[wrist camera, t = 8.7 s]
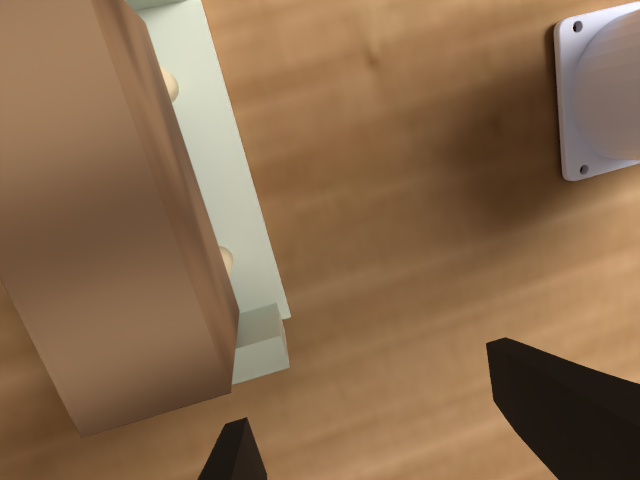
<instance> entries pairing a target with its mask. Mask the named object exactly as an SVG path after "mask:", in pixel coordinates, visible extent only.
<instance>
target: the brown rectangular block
mask: <svg viewBox="0 0 640 480" xmlns="http://www.w3.org/2000/svg"><path fill="white" fill-rule="evenodd" d="M0 279H1V281H2V283H3V285H4V287H5V289H6V291H7V293H8V295H9V297H10V298H11V300H12V302H13V304H14V306H15V308H16V310H17V312H18V314H19V316H20V318H21V320H22V322H23V324H24V326H25V328H26V330H27V332H28V334H29V336H30V338H31V340H32V342H33V344H34V346H35V348H36V350H37V352H38V354H39V356H40V358H41V360H42V362H43V364H44V366H45V368H46V370H47V372H48V374H49V376H50V378H51V380H52V382H53V384H54V385H55V387H56V389H57V391H58V393H59V395H60V397H61V399H62V401H63V403H64V405H65V407H66V409H67V411H68V413H69V415H70V417H71V419H72V421H73V423H74V425H75V427H76V429H77V431H78V433H79V435H80V437H81V438H84V437H87V436H91V435H94V434H97V433H100V432H104V431H107V430H110V429H114V428H117V427H120V426H123V425H127V424H130V423H133V422H137V421H140V420H143V419H146V418H150V417H153V416H156V415H160V414H163V413H166V412H169V411H173V410H176V409H179V408H183V407H186V406H189V405H192V404H196V403H199V402H202V401H206V400H209V399H212V398H215V397H219V396H222V395H225V394H229V393H231V386H232V377H233V368H234V359H235V350H236V341H237V331H238V322H239V313H240V310H239V307H238V304H237V301H236V298H235V295H234V292H233V288H232V285H231V282H230V279H229V276H228V273H227V270H226V267H225V264H224V261H223V258H222V255H221V252H220V249H219V246H218V243H217V240H216V237H215V234H214V230H213V227H212V224H211V221H210V218H209V215H208V212H207V209H206V206H205V203H204V200H203V197H202V194H201V191H200V188H199V185H198V182H197V179H196V175H195V172H194V169H193V166H192V163H191V160H190V157H189V154H188V151H187V148H186V145H185V142H184V139H183V136H182V133H181V130H180V127H179V124H178V121H177V117H176V114H175V111H174V108H173V105H172V102H171V99H170V96H169V93H168V90H167V87H166V84H165V81H164V78H163V75H162V72H161V69H160V66H159V62H158V59H157V56H156V53H155V50H154V47H153V44H152V41H151V38H150V35H149V32H148V29H147V26H146V23H145V22H144V21H143V20H142V19H141V17H140V16H139V15H138V14H137V13H136V12H135V11H134V10H133V9H132V8H131V7H130V6H129V5H128V4H127V3H126V2H125V1H124V0H0Z"/></svg>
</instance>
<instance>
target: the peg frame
mask: <svg viewBox="0 0 640 480" xmlns="http://www.w3.org/2000/svg"><path fill="white" fill-rule="evenodd" d="M124 1H125V2H126V3H127V4H128V5H129V6H130V7H131V8H132V9H133V10H134V11H135V12H136V13H137V14H138V15H139V16H140V17H141V19H142V20H143V21H144V22H145V23H146V26H147V29H148V32H149V35H150V38H151V41H152V44H153V47H154V50H155V53H156V56H157V59H158V62H159V66H160V69H161V72H162V75H163V78H164V81H165V84H166V87H167V90H168V93H169V96H170V99H171V102H172V105H173V108H174V111H175V114H176V117H177V121H178V124H179V127H180V130H181V133H182V136H183V139H184V142H185V145H186V148H187V151H188V154H189V157H190V160H191V163H192V166H193V169H194V172H195V175H196V179H197V182H198V185H199V188H200V191H201V194H202V197H203V200H204V203H205V206H206V209H207V212H208V215H209V218H210V221H211V224H212V227H213V230H214V234H215V237H216V240H217V243H218V246H219V249H220V252H221V255H222V258H223V261H224V264H225V267H226V270H227V273H228V276H229V279H230V282H231V285H232V288H233V292H234V295H235V298H236V301H237V304H238V307H239V310H240V313H239V322H238V331H237V341H236V350H235V359H234V368H233V377H232V385H234V384H237V383H241V382H244V381H247V380H251V379H254V378H257V377H261V376H264V375H267V374H271V373H274V372H277V371H281V370H284V369H287V368H290V363H289V356H288V349H287V342H286V335H285V329H284V326H283V322H282V320H284V319H287V318H291V314H290V310H289V306H288V303H287V299H286V296H285V292H284V289H283V285H282V282H281V278H280V275H279V271H278V268H277V264H276V261H275V257H274V254H273V250H272V247H271V243H270V240H269V236H268V233H267V229H266V226H265V222H264V219H263V215H262V212H261V208H260V205H259V201H258V198H257V194H256V191H255V187H254V184H253V180H252V177H251V173H250V170H249V166H248V163H247V159H246V156H245V152H244V149H243V145H242V142H241V138H240V135H239V131H238V128H237V124H236V121H235V117H234V114H233V110H232V107H231V103H230V100H229V96H228V93H227V89H226V86H225V82H224V79H223V75H222V72H221V68H220V65H219V61H218V58H217V54H216V51H215V47H214V44H213V40H212V37H211V33H210V30H209V26H208V23H207V19H206V16H205V12H204V9H203V5H202V2H201V0H124Z"/></svg>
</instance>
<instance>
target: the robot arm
mask: <svg viewBox="0 0 640 480" xmlns="http://www.w3.org/2000/svg"><path fill="white" fill-rule="evenodd" d="M573 24H575V25H576V31H575V32H574V30H573ZM554 47H555V63H556V79H557V96H558V112H559V128H560V145H561V161H562V175H563V178H564V179H565V180H567V181H578V180H581V179H585V178H588V177H592V176H596V175H599V174H603V173H607V172H610V171H614V170H617V169H621V168H625V167H628V166H632V165H635V164H639V163H640V1H637V2H632V3H628V4H624V5H620V6H615V7H611V8H607V9H603V10H598V11H594V12H590V13H586V14H582V15H577V16H573V17H569V18H566V19H563V20H561V21H559V22H558V23H557V24H556V26H555V28H554ZM581 166H582V167H583V170H582V172H581V173H580V168H581ZM486 347H487V355H488V363H489V370H490V378H491V385H492V393H493V400H494V402H495V403H496V405H497V406H498V408H499V409H500V411H501V412H502V414H503V415H504V417H505V418H506V419H507V421H508V422H509V423H510V425H511V426H512V428H513V429H514V430H515V432H516V433H517V434H518V435H519V436H520V437H521V439H522V440H523V441H524V442H525V443H526V444H527V445H528V446H529V447H530V449H531V450H532V451H533V452H534V453H535V454H536V455H537V456H538V458H539V459H540V460H541V461H542V462H543V463H544V464H545V465H546V466H547V467H548V469H549V470H550V471H551V472H552V473H553V474H554V475H555V476H556V477H557V478H558V480H640V384H638V383H634V382H631V381H628V380H624V379H621V378H618V377H615V376H612V375H609V374H605V373H602V372H599V371H596V370H594V369H591V368H588V367H585V366H582V365H579V364H576V363H574V362H571V361H568V360H565V359H563V358H560V357H557V356H555V355H552V354H550V353H547V352H544V351H542V350H539V349H536V348H534V347H531V346H528V345H526V344H523V343H520V342H518V341H515V340H512V339H509V338H506V337H505V338H501V339H498V340H495V341H492V342H488V343H486ZM198 480H267V473H266V470H265V468H264V465H263V462H262V459H261V456H260V453H259V450H258V448H257V445H256V442H255V439H254V436H253V433H252V430H251V428H250V425H249V422H248V419H247V417H246V418H243V419H240V420H236V421H233V422H230V423H227V424H225V426H224V427H223V429H222V431H221V433H220V435H219V437H218V439H217V441H216V444H215V446H214V448H213V450H212V452H211V454H210V456H209V458H208V460H207V462H206V464H205V466H204V468H203V470H202V472H201V474H200V476H199V478H198Z"/></svg>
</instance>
